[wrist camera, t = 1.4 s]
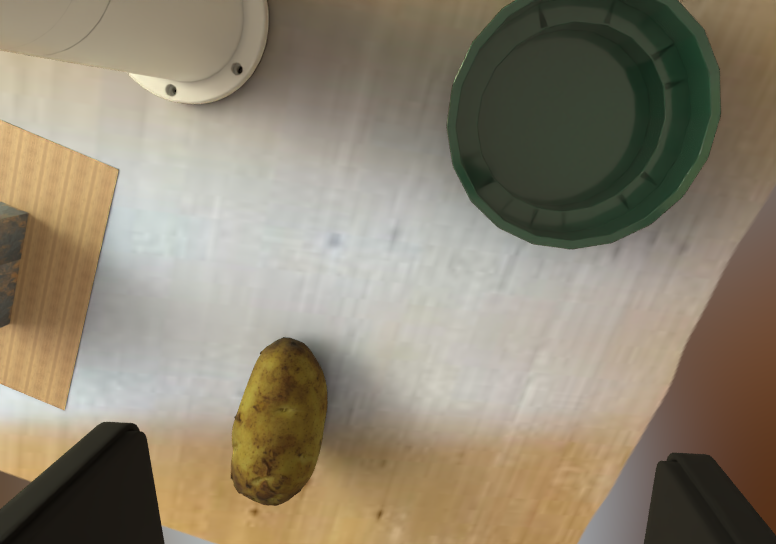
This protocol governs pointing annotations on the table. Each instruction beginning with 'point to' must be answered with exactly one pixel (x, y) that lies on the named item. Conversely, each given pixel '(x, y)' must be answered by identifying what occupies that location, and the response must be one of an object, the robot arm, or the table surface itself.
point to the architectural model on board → (7, 252)
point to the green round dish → (583, 117)
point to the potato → (279, 424)
